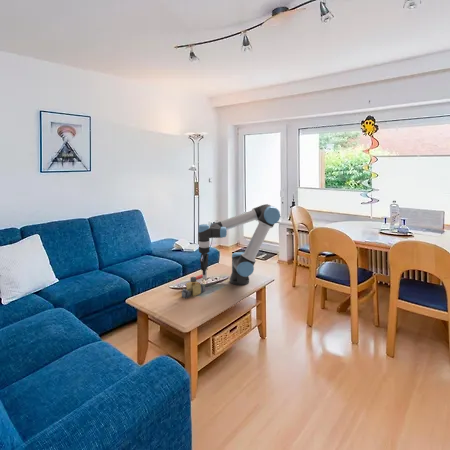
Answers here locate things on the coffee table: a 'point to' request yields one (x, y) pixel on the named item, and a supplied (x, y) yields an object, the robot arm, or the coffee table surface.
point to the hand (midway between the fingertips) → (204, 278)
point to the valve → (193, 289)
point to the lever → (196, 278)
